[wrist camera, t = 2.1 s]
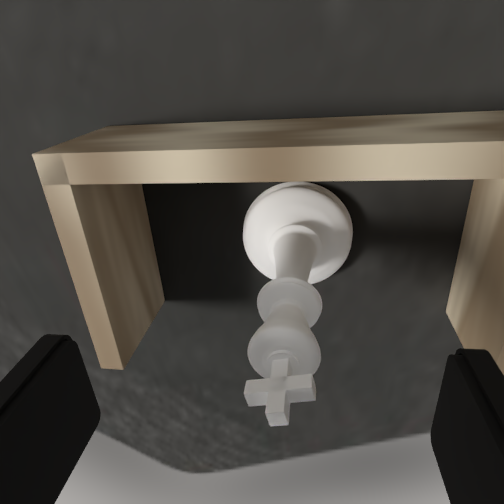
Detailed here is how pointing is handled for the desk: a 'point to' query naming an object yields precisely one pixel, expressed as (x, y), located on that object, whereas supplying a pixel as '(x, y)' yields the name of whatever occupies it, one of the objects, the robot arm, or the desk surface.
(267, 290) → the chess piece
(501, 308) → the open-side wooden frame
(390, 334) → the desk surface
